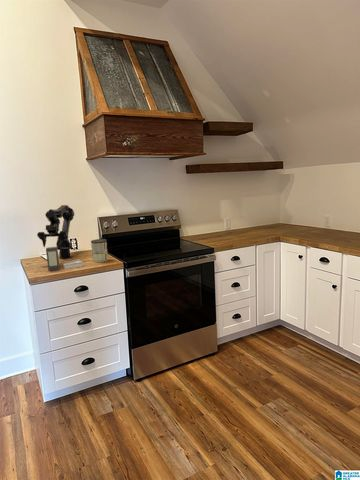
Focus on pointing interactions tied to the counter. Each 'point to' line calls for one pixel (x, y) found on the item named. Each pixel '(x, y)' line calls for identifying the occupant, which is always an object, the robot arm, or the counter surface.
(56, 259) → the photo frame
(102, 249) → the coffee can
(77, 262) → the picture stand
